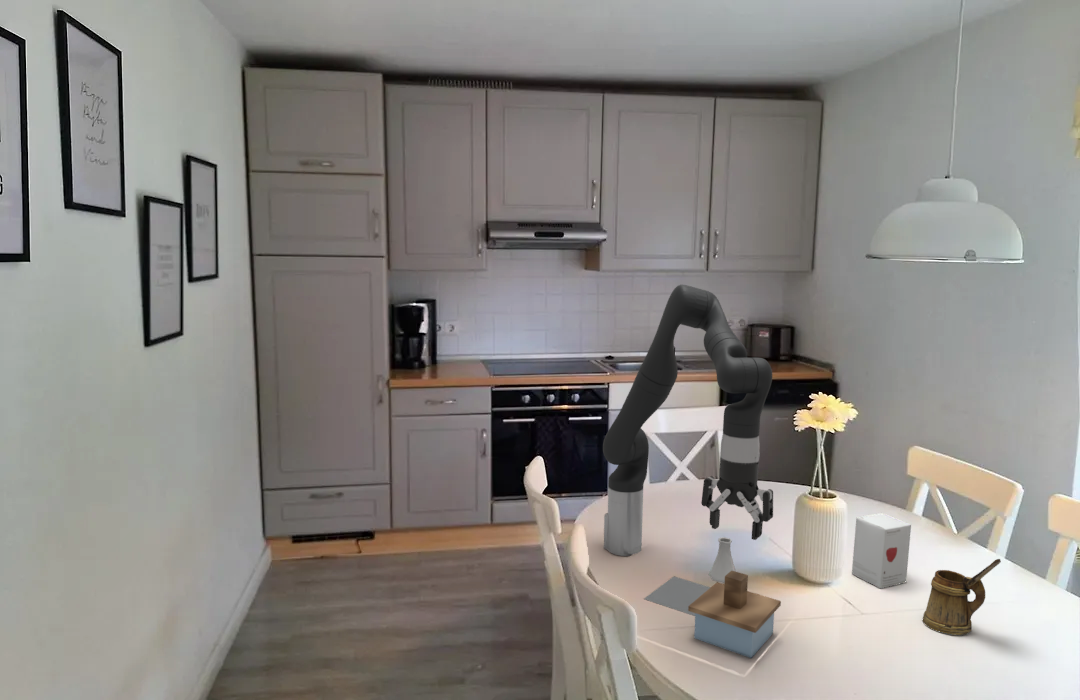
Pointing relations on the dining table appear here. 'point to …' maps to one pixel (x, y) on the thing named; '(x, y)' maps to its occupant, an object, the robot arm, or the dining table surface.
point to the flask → (722, 561)
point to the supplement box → (881, 549)
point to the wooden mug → (954, 600)
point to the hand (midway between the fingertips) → (735, 533)
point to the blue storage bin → (732, 635)
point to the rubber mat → (677, 594)
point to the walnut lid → (735, 603)
